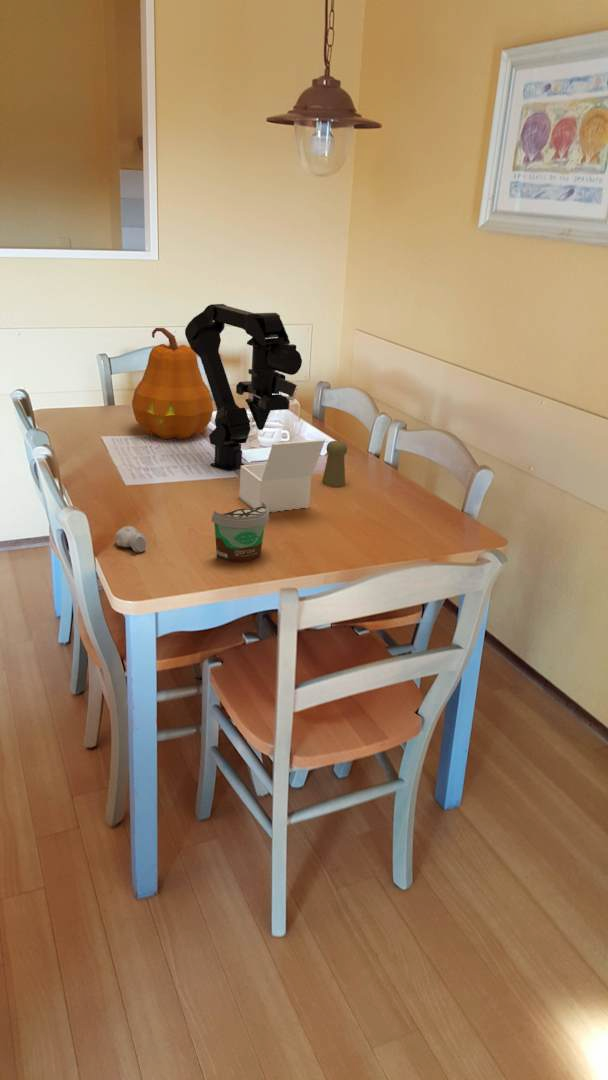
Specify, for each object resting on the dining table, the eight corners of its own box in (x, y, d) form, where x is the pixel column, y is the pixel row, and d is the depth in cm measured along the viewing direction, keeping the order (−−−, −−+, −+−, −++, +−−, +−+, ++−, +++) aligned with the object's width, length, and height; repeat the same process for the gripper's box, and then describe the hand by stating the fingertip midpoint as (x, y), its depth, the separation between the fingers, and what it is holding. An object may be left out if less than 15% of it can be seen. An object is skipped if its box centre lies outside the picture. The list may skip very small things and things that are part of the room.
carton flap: (272, 443, 174) (273, 444, 174) (324, 439, 180) (325, 440, 180) (261, 479, 182) (262, 480, 182) (311, 474, 188) (311, 475, 187)
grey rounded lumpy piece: (114, 547, 166) (136, 536, 168) (128, 561, 160) (152, 550, 162) (107, 529, 164) (130, 518, 166) (121, 543, 158) (145, 532, 160)
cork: (343, 488, 205) (347, 446, 201) (319, 485, 206) (323, 443, 202) (347, 481, 211) (351, 440, 207) (324, 478, 212) (327, 437, 208)
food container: (226, 570, 157) (228, 522, 153) (210, 558, 162) (211, 511, 158) (278, 558, 164) (282, 511, 160) (262, 547, 169) (264, 501, 165)
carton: (239, 497, 194) (240, 465, 191) (288, 492, 200) (290, 461, 197) (258, 514, 185) (260, 480, 182) (309, 508, 191) (311, 475, 188)
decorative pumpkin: (117, 437, 232) (114, 329, 220) (154, 418, 253) (154, 319, 241) (193, 449, 226) (195, 340, 215) (225, 429, 247) (228, 328, 236)
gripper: (311, 373, 192) (306, 437, 198) (276, 358, 207) (273, 418, 213) (268, 375, 187) (265, 441, 193) (236, 359, 202) (234, 420, 208)
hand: (260, 429), depth 202 cm, fingers closed
